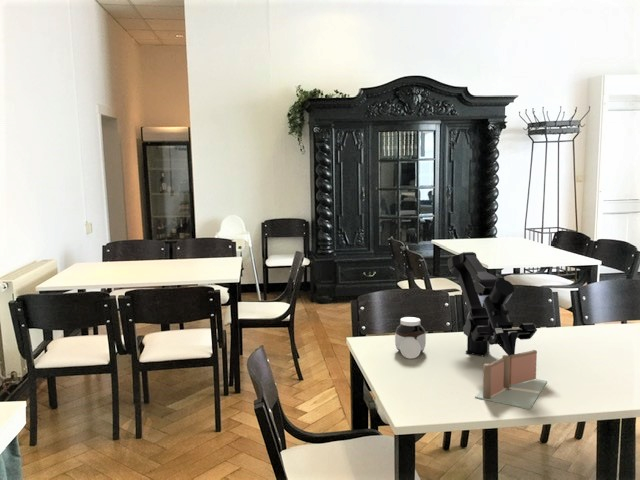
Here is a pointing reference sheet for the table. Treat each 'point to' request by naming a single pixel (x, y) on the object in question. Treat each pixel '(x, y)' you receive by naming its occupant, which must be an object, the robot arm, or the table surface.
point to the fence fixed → (493, 378)
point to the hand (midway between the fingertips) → (512, 357)
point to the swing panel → (519, 368)
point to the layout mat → (518, 394)
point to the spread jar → (410, 337)
